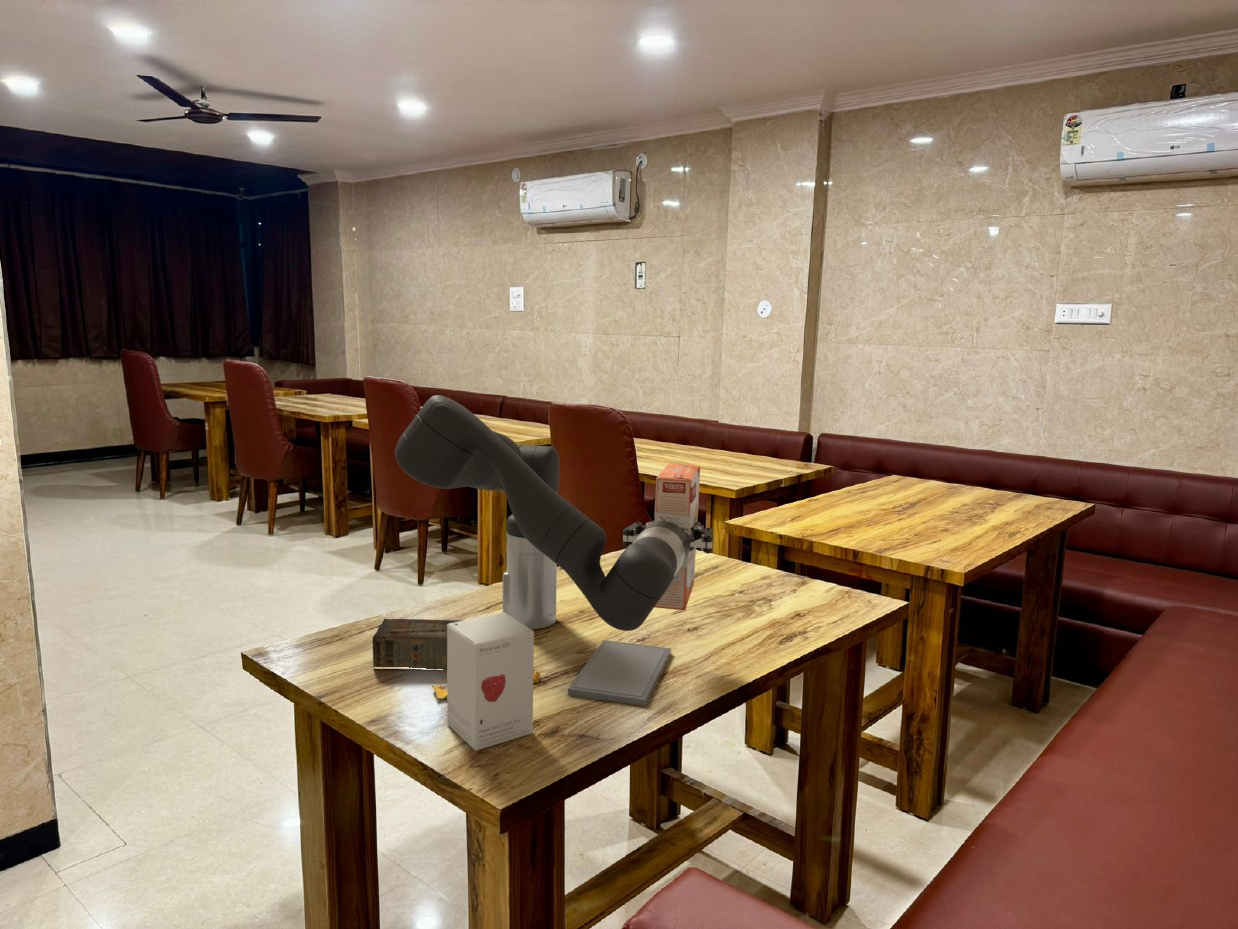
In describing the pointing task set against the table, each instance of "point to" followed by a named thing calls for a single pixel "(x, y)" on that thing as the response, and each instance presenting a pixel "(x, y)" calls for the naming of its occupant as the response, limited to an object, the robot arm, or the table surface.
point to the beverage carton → (411, 643)
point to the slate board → (621, 673)
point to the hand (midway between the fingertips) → (677, 526)
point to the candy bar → (442, 689)
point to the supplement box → (490, 679)
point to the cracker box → (678, 524)
